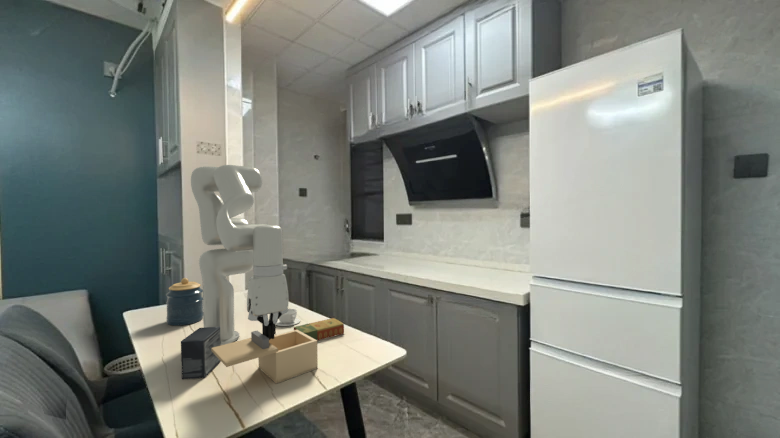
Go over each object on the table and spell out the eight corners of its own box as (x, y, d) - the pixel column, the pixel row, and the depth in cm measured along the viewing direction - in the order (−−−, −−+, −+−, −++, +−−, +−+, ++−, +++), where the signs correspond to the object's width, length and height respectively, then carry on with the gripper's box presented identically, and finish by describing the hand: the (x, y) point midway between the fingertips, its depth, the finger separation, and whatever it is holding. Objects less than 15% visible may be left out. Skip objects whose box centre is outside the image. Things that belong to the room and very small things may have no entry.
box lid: (211, 350, 86) (211, 338, 86) (259, 338, 94) (259, 327, 94) (226, 367, 77) (226, 353, 77) (277, 351, 85) (277, 339, 85)
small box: (199, 361, 98) (198, 326, 98) (222, 360, 99) (221, 326, 98) (179, 379, 88) (179, 340, 87) (205, 378, 88) (204, 339, 88)
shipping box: (258, 367, 94) (258, 339, 94) (297, 355, 102) (297, 329, 102) (276, 383, 85) (276, 353, 85) (317, 368, 93) (317, 340, 93)
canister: (158, 324, 131) (157, 280, 131) (187, 314, 143) (186, 274, 143) (183, 327, 127) (183, 282, 127) (211, 317, 140) (210, 275, 139)
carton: (344, 334, 120) (344, 323, 120) (301, 345, 111) (301, 332, 110) (334, 328, 127) (333, 317, 127) (293, 337, 117) (293, 326, 117)
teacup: (269, 323, 132) (269, 311, 132) (291, 317, 140) (291, 306, 140) (282, 329, 126) (282, 317, 126) (305, 322, 133) (305, 311, 133)
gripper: (287, 266, 97) (288, 327, 98) (234, 272, 87) (235, 341, 87) (300, 269, 92) (300, 334, 92) (244, 276, 82) (245, 350, 82)
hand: (269, 337), depth 90 cm, fingers closed
